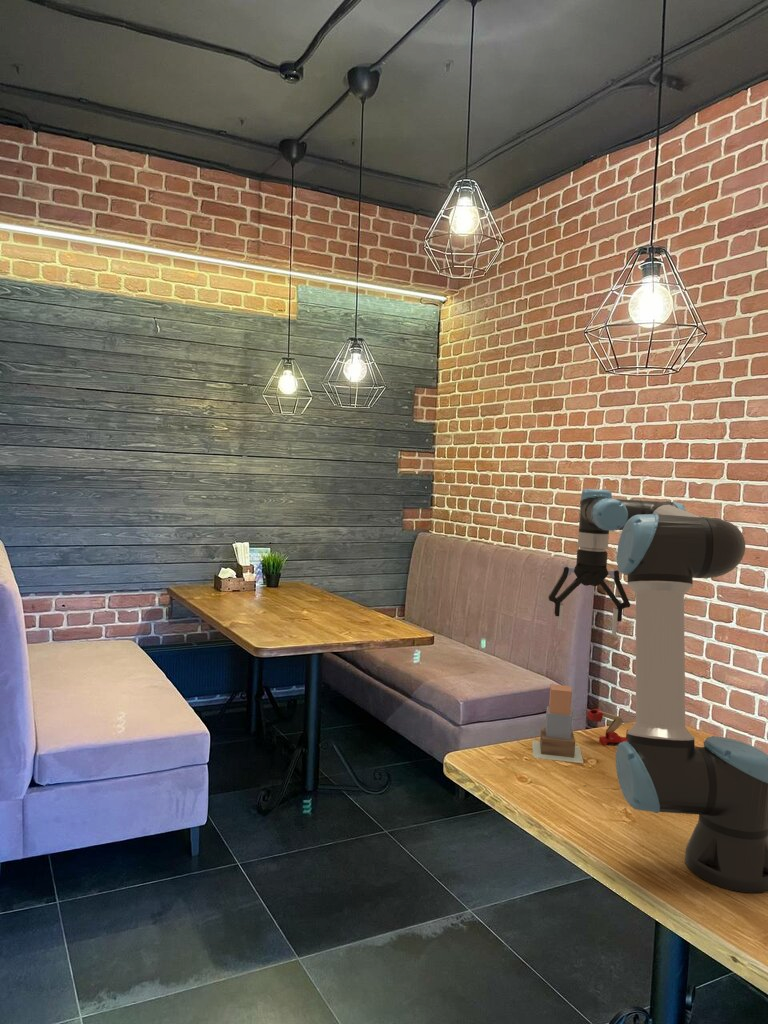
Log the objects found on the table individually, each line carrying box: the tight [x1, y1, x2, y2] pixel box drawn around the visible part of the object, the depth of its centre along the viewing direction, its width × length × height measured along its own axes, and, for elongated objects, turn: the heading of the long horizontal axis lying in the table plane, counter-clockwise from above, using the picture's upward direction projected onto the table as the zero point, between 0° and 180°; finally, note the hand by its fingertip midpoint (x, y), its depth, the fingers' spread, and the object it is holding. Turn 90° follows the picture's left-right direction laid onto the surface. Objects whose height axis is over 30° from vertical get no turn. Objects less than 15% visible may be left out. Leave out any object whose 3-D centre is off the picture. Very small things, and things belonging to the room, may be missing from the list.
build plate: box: [531, 740, 584, 764], centre depth 191 cm, size 12×12×1 cm
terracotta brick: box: [548, 684, 573, 715], centre depth 191 cm, size 5×5×6 cm
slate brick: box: [544, 705, 573, 740], centre depth 191 cm, size 6×6×6 cm
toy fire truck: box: [586, 708, 629, 747], centre depth 199 cm, size 3×14×10 cm, turn 94°
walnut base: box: [539, 727, 576, 758], centre depth 191 cm, size 8×8×4 cm
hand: (586, 631), depth 195 cm, fingers open, 13 cm apart
